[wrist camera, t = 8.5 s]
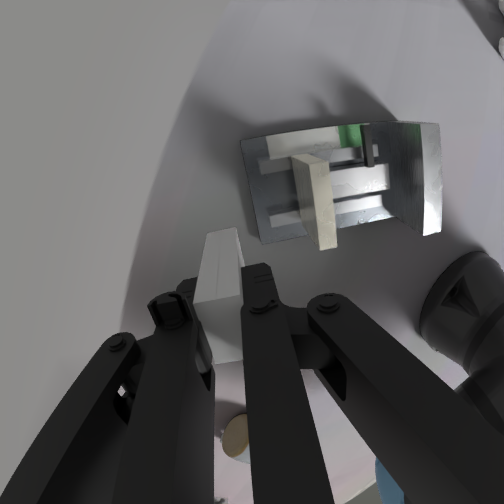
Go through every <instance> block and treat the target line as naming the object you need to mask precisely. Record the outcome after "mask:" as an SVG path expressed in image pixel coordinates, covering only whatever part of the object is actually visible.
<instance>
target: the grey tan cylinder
mask: <svg viewBox="0 0 504 504" xmlns="http://www.w3.org/2000/svg"><path fill="white" fill-rule="evenodd" d="M220 442H221V443H222V447H223V450H224V452H225V454H227V455H228V456H229V457H231V458H233V459H235V460H237V461H240V462H244V463H248V464H250V451H249V438H248V424H247V414H241V415H238V416H236V417H234V418H233V419H232V420H231V421H230V422H229V423H228V425H227V427H226V429H225V431H224V433H223V434H222V435H221V438H220Z"/></svg>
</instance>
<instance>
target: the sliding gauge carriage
mask: <svg viewBox="0 0 504 504" xmlns="http://www.w3.org/2000/svg"><path fill="white" fill-rule="evenodd" d="M359 126H360V133H361V140H362V148H363V157H364V163H360V164H353V165H346V166H339V167H333V168H329V163H328V161H325V160H323V159H320V158H317V157H314V156H312V155H309V154H300V155H294V156H291V159H292V165H293V171H294V177H295V183H296V190H297V196H298V203H299V209H300V216H301V223H302V226H303V228H304V229H305V231H306V232H307V233H308V235H309V236H310V237H311V239H312V240H313V242H314V243H315V244H316V246H317V247H318V249H319V250H320V251H322V250H326V249H331V248H335V247H337V236H336V225H335V214H334V204H333V199H334V198H340V197H345V196H351V195H356V194H362V193H368V192H373V191H379V190H385V189H390V180H389V166H388V163H385V162H382V161H375V162H374V153H373V144H372V136H371V129H370V125H359Z"/></svg>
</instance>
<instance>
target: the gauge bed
mask: <svg viewBox="0 0 504 504" xmlns="http://www.w3.org/2000/svg"><path fill="white" fill-rule="evenodd" d="M359 125H370V129H371V136H372V144H373V153H374V162H375V161H382V162H385V163H388V166H389V180H390V189H385V190H379V191H373V192H368V193H362V194H356V195H351V196H345V197H340V198H334V199H333V204H334V214H335V225H336V229H338V228H343V227H348V226H353V225H357V224H362V223H367V222H372V221H376V220H381V219H386V218H391V217H396V218H397V219H399V220H400V221H402V222H403V223H405V224H407V225H408V226H410V227H411V228H413V229H414V230H416V231H417V232H419V233H420V234H422V235H423V236H425V235H429V234H433V233H437V232H440V231H441V220H442V156H441V140H440V128H439V124H437V123H426V122H413V121H382V122H367V123H355V124H345V125H335V126H327V127H318V128H311V129H304V130H297V131H290V132H284V133H278V134H272V135H266V136H261V137H255V138H250V139H245V140H240V143H241V148H242V153H243V158H244V163H245V167H246V172H247V177H248V182H249V187H250V192H251V197H252V202H253V206H254V211H255V216H256V221H257V226H258V231H259V236H260V241H261V244H262V245H263V244H268V243H272V242H277V241H282V240H286V239H291V238H296V237H300V236H305V235H308V233H307V232H306V231H305V229H304V228H303V226H302V223H301V216H300V209H299V203H298V196H297V190H296V183H295V177H294V171H293V165H292V159H291V156H294V155H300V154H309V155H312V156H314V157H317V158H320V159H323V160H325V161H328V163H329V168H333V167H339V166H346V165H353V164H360V163H364V157H363V148H362V140H361V133H360V126H359Z"/></svg>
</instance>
